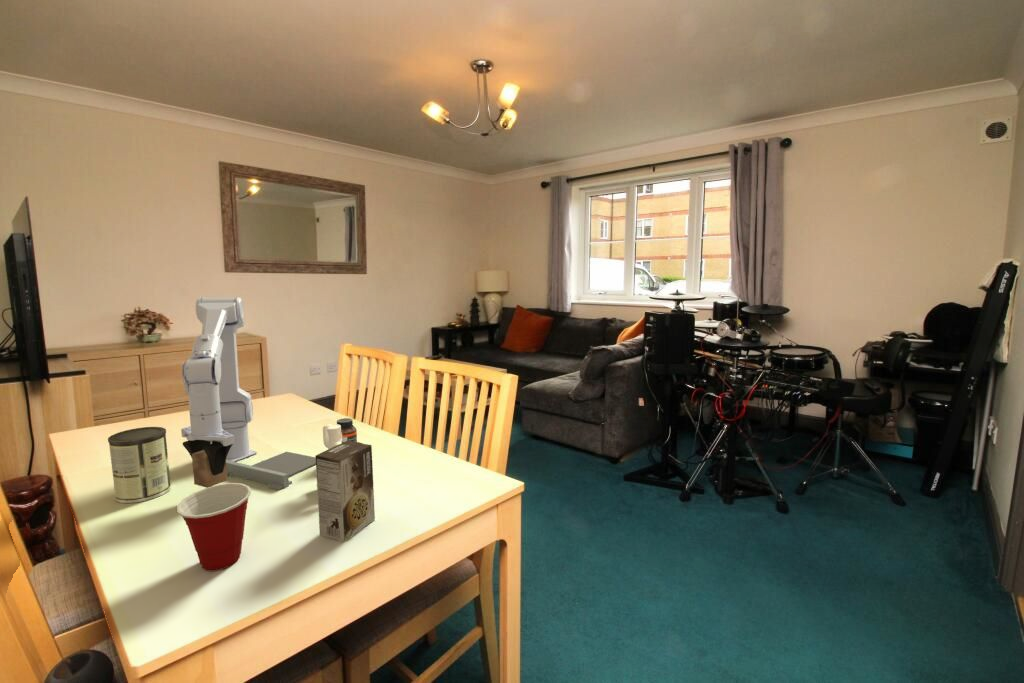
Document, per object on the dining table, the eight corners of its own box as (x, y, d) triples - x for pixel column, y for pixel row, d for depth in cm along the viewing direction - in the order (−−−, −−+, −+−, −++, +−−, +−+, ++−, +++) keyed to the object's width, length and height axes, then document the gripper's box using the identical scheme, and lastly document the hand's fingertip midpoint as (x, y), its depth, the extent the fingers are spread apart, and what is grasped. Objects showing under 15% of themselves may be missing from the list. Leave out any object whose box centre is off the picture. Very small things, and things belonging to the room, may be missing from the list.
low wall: (215, 474, 119) (214, 463, 119) (230, 469, 123) (229, 457, 123) (279, 490, 111) (278, 478, 110) (293, 483, 114) (292, 471, 114)
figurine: (329, 499, 106) (326, 434, 105) (313, 485, 113) (310, 424, 111) (360, 490, 111) (358, 427, 109) (343, 477, 118) (341, 418, 116)
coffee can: (131, 485, 113) (126, 427, 111) (180, 482, 115) (175, 425, 113) (103, 505, 103) (95, 442, 101) (156, 501, 105) (150, 439, 103)
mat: (248, 468, 123) (248, 466, 123) (286, 453, 134) (286, 451, 134) (288, 477, 118) (288, 475, 118) (324, 461, 129) (324, 459, 129)
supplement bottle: (350, 465, 126) (348, 424, 124) (329, 464, 127) (327, 422, 125) (361, 457, 131) (360, 417, 130) (342, 455, 133) (340, 416, 131)
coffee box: (350, 514, 100) (347, 439, 98) (375, 520, 98) (373, 443, 96) (317, 535, 92) (313, 454, 90) (344, 542, 89) (340, 459, 87)
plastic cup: (166, 572, 80) (160, 504, 78) (225, 539, 90) (221, 478, 88) (213, 587, 76) (207, 516, 74) (269, 551, 86) (265, 488, 84)
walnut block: (194, 484, 106) (191, 453, 105) (213, 476, 110) (211, 447, 109) (207, 487, 104) (205, 457, 103) (227, 480, 108) (225, 450, 107)
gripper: (164, 413, 104) (170, 472, 106) (209, 421, 98) (214, 484, 100) (197, 405, 110) (202, 461, 112) (241, 412, 105) (245, 472, 107)
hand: (210, 471), depth 107 cm, fingers closed on walnut block, 4 cm apart
